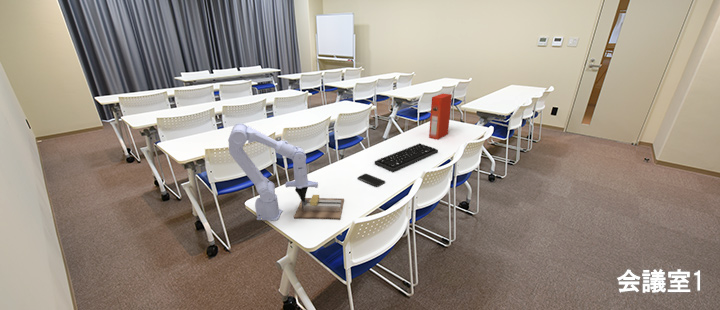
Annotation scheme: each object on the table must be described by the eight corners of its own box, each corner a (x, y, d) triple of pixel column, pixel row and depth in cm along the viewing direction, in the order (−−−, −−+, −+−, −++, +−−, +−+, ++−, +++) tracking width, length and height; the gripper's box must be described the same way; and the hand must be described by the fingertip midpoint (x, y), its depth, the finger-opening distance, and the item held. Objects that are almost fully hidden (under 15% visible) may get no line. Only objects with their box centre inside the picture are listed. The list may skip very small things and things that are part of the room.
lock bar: (310, 205, 131) (309, 202, 130) (313, 198, 137) (312, 194, 136) (316, 205, 131) (316, 202, 130) (319, 198, 137) (319, 194, 136)
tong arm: (309, 207, 136) (308, 201, 135) (310, 204, 138) (309, 199, 136) (341, 207, 135) (340, 202, 134) (341, 205, 137) (341, 200, 136)
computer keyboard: (393, 173, 171) (393, 167, 170) (374, 165, 182) (374, 159, 181) (437, 153, 198) (438, 148, 197) (419, 147, 209) (419, 142, 208)
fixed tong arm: (300, 211, 133) (300, 204, 132) (303, 205, 137) (302, 199, 136) (340, 211, 132) (339, 205, 131) (341, 206, 136) (341, 200, 135)
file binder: (428, 137, 226) (432, 97, 213) (438, 132, 238) (442, 93, 225) (438, 139, 221) (442, 98, 209) (447, 134, 233) (452, 94, 221)
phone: (376, 186, 154) (356, 177, 163) (376, 188, 155) (356, 179, 164) (386, 181, 159) (365, 173, 169) (386, 183, 160) (365, 174, 169)
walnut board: (293, 218, 130) (293, 216, 129) (302, 199, 144) (302, 197, 144) (340, 219, 128) (340, 217, 128) (344, 200, 143) (344, 198, 143)
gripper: (281, 178, 125) (285, 204, 131) (314, 178, 124) (317, 205, 130) (286, 171, 132) (289, 196, 137) (318, 171, 131) (320, 197, 136)
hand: (303, 200), depth 134 cm, fingers closed
